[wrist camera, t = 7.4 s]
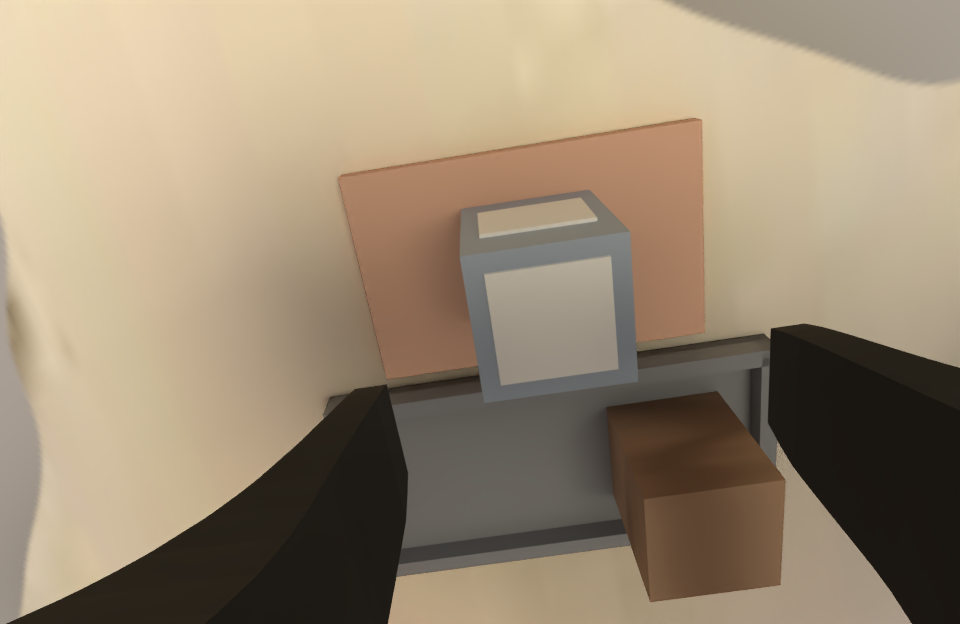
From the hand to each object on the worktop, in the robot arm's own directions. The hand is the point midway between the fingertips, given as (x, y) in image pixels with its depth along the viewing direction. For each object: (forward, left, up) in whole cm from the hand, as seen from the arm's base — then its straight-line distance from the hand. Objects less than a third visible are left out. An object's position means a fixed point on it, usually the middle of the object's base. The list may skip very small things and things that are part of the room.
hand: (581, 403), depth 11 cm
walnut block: (-4, +8, -9) cm, 13 cm away
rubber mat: (0, 0, -9) cm, 9 cm away
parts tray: (0, +8, -9) cm, 12 cm away
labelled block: (0, 0, -9) cm, 9 cm away
